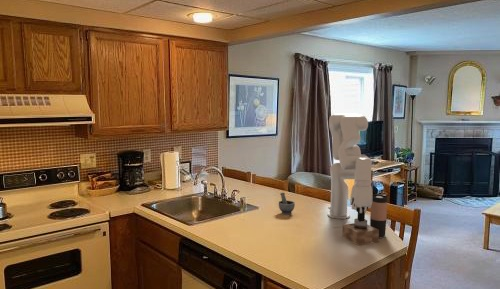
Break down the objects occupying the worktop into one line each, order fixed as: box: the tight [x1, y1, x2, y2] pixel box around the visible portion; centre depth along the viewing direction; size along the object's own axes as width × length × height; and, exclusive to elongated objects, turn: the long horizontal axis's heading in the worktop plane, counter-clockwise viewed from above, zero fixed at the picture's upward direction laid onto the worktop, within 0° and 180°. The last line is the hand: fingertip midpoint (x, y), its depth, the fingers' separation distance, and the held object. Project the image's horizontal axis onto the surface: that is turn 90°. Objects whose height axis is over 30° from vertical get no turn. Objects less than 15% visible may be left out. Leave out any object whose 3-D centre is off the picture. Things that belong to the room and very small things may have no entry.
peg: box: [353, 217, 368, 229], centre depth 175 cm, size 6×6×9 cm
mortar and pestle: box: [278, 192, 296, 216], centre depth 216 cm, size 11×9×12 cm
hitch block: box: [341, 222, 380, 246], centre depth 175 cm, size 12×12×6 cm
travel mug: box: [369, 193, 388, 238], centre depth 180 cm, size 8×8×20 cm
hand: (360, 220), depth 174 cm, fingers closed
